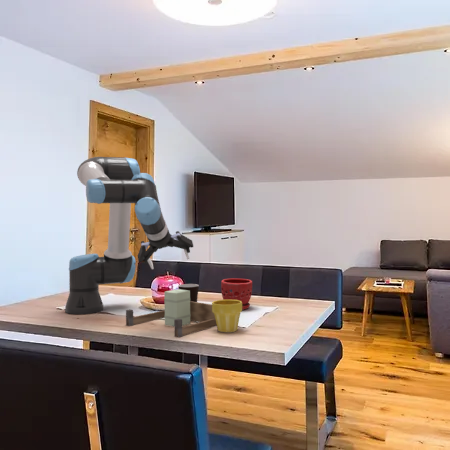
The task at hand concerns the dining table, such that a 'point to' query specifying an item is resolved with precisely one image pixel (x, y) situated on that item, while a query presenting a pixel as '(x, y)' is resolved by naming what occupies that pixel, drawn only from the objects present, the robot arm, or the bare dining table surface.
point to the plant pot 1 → (237, 290)
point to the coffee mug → (191, 290)
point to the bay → (198, 314)
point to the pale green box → (177, 306)
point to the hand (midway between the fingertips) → (169, 261)
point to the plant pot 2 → (227, 314)
